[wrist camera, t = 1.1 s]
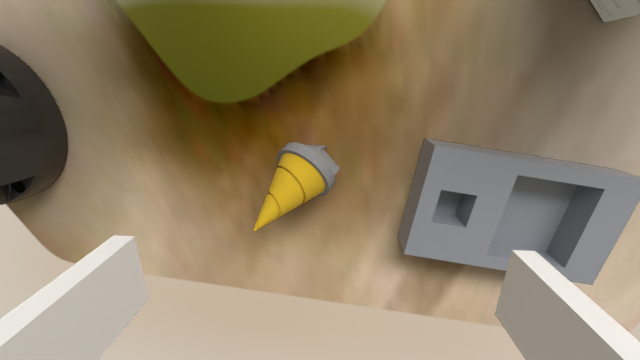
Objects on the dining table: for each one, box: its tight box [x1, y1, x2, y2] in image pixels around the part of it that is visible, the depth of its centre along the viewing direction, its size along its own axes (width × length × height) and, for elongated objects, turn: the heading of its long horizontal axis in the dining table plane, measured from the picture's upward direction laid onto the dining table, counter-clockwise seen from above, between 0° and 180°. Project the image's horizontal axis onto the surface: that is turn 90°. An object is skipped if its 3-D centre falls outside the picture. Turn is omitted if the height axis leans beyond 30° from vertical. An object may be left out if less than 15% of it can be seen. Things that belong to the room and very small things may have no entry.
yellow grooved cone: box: [253, 142, 340, 231], centre depth 25 cm, size 5×5×10 cm
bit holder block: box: [398, 138, 640, 285], centre depth 26 cm, size 17×10×3 cm, turn 81°
